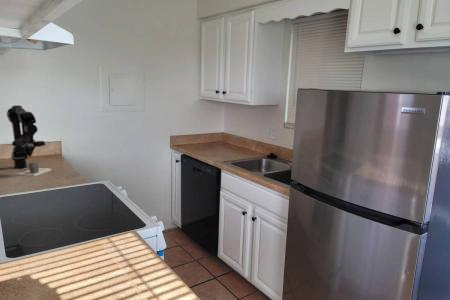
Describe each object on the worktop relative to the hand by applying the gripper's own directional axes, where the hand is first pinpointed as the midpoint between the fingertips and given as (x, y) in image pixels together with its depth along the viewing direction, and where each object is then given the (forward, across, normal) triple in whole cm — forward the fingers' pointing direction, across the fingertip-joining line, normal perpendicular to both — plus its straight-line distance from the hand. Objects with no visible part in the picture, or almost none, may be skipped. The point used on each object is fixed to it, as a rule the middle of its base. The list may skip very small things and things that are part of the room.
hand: (29, 156), depth 210 cm
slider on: (+10, -5, +8) cm, 14 cm away
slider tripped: (+10, +2, 0) cm, 10 cm away
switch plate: (+11, -1, +4) cm, 12 cm away
